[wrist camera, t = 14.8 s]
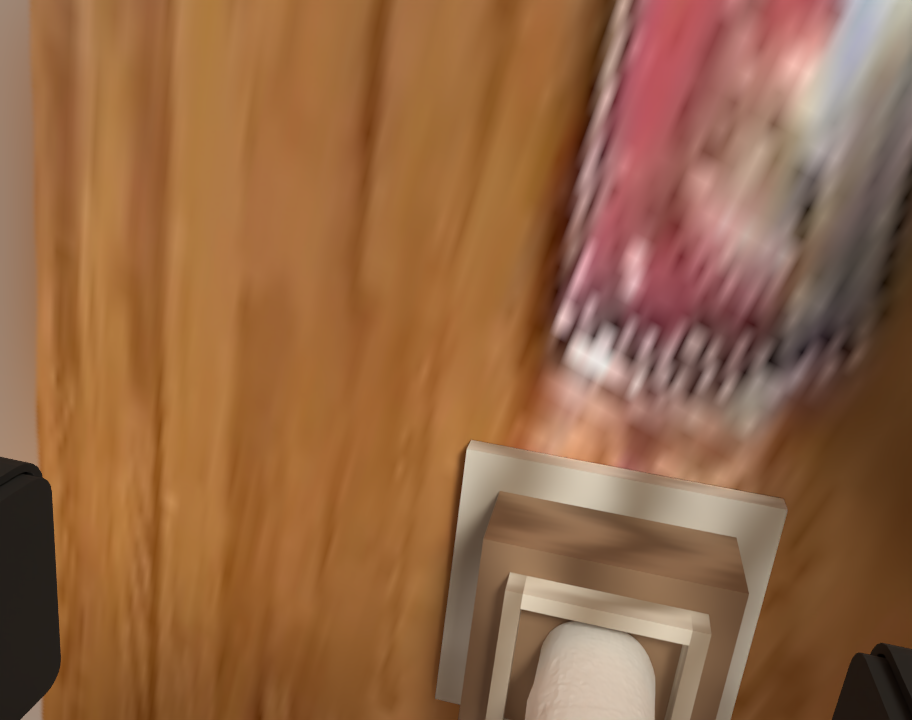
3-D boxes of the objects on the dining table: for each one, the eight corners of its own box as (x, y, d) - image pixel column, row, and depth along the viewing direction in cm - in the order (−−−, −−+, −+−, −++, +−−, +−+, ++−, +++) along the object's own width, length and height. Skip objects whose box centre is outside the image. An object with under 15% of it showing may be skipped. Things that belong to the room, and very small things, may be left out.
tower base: (783, 498, 42) (814, 583, 35) (715, 750, 47) (730, 869, 40) (471, 439, 44) (438, 507, 37) (439, 684, 49) (406, 786, 42)
